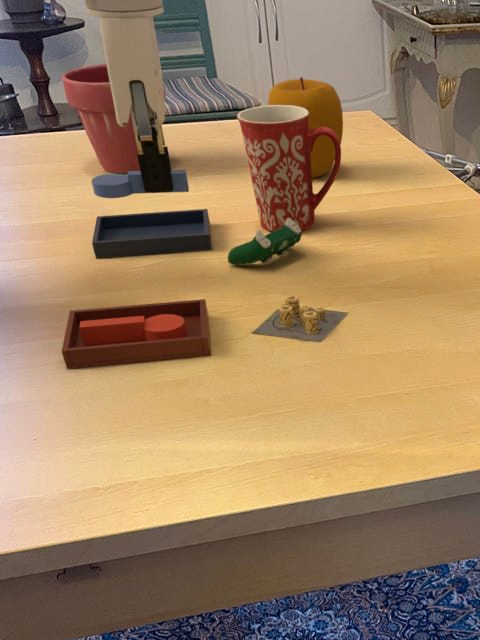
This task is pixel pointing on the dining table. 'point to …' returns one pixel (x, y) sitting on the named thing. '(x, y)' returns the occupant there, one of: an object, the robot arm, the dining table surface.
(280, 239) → the green elongated piece
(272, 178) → the mug
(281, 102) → the apple
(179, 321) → the red spoon
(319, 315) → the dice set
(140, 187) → the blue spoon
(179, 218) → the blue tray
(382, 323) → the dining table surface
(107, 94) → the flower pot
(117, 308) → the red tray
